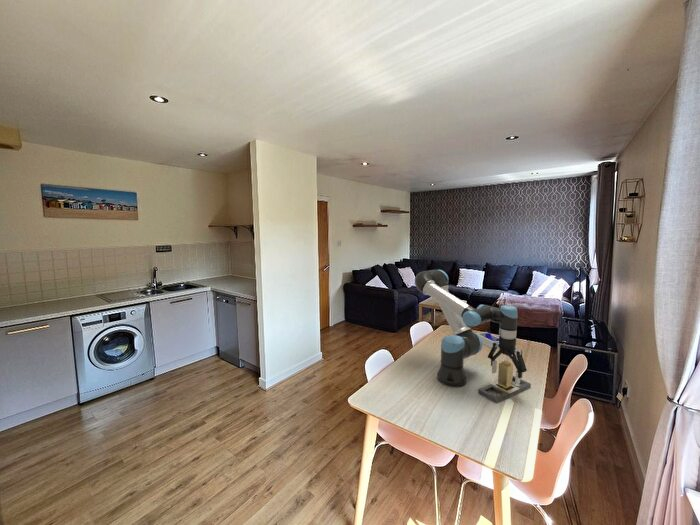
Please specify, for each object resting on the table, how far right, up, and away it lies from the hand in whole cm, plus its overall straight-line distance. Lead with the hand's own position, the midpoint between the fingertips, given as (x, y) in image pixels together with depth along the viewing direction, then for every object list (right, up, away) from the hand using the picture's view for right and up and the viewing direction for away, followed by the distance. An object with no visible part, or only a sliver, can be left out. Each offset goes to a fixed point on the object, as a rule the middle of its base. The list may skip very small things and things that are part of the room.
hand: (505, 377), depth 148 cm
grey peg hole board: (0, -7, +1) cm, 7 cm away
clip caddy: (+21, 0, +60) cm, 64 cm away
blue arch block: (+23, 0, +60) cm, 64 cm away
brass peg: (0, -7, +1) cm, 7 cm away
